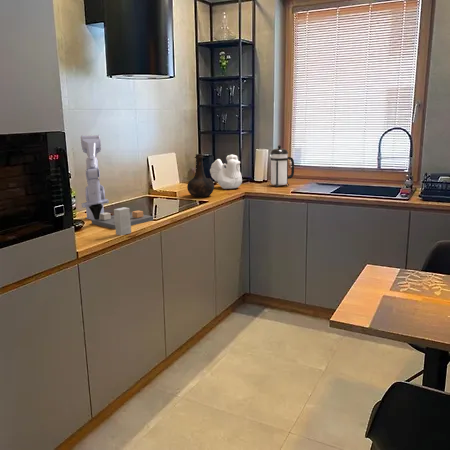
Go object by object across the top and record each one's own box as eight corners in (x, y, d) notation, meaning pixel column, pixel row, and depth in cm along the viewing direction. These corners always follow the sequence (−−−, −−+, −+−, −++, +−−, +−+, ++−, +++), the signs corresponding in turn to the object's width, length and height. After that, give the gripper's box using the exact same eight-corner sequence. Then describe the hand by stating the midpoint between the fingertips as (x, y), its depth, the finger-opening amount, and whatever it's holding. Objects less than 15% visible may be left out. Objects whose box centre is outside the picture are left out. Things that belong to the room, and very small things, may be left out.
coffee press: (287, 188, 333) (287, 146, 326) (266, 187, 340) (266, 145, 333) (294, 184, 348) (294, 144, 341) (274, 183, 355) (274, 144, 348)
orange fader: (132, 216, 239) (132, 211, 238) (138, 215, 242) (138, 210, 241) (137, 217, 236) (137, 212, 236) (143, 216, 239) (143, 211, 239)
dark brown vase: (210, 199, 297) (209, 155, 290) (184, 198, 301) (182, 155, 294) (217, 194, 314) (216, 152, 307) (191, 193, 318) (190, 152, 311)
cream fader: (99, 219, 236) (99, 213, 235) (106, 217, 239) (105, 212, 238) (104, 220, 233) (103, 214, 232) (111, 218, 236) (110, 213, 235)
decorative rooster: (246, 188, 336) (246, 153, 331) (232, 191, 325) (231, 155, 319) (221, 185, 353) (220, 152, 347) (206, 188, 341) (205, 154, 335)
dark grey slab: (91, 223, 236) (91, 219, 235) (129, 215, 254) (129, 211, 253) (115, 229, 223) (115, 225, 223) (153, 220, 241) (153, 216, 240)
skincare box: (125, 231, 218) (123, 207, 215) (131, 233, 216) (129, 208, 213) (115, 234, 214) (113, 209, 211) (121, 235, 211) (119, 210, 208)
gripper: (86, 195, 221) (88, 223, 224) (111, 191, 232) (113, 217, 235) (78, 194, 225) (80, 221, 229) (103, 190, 236) (105, 215, 239)
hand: (96, 219), depth 232 cm, fingers closed
